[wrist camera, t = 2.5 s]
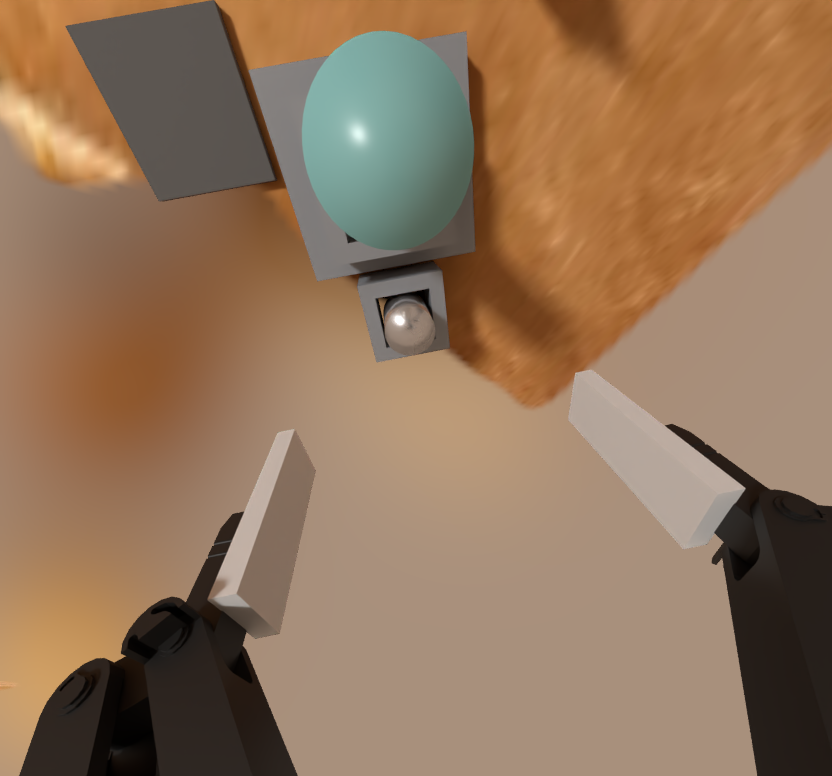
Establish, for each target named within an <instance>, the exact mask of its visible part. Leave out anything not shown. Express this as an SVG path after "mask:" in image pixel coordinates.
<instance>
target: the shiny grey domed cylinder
mask: <svg viewBox="0 0 832 776" xmlns="http://www.w3.org/2000/svg"><path fill="white" fill-rule="evenodd" d="M384 327H385V337H386V341H387V343H388V344H389V346H390V347H391V348H392V349H393V350H394V351H396V352H397V353H399V354H402V355H417V354H419V353H422V352H423V351H425V350H426V349H427V348H428V347H429V346H430V345H431V344H432V342H433V340H434V337H435V324H434V321H433V319H432V317H431V315H430V313H429V311H428V309H427V307H426V305H425V303H424V301H423V299H422V298H421V297H420V296H419V295H418V294H416V293H414V292H407V293H402V294H397V295H391V296H390V297H389V298H388V300H387V301H386V303H385V306H384Z"/></svg>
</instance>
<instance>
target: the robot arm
mask: <svg viewBox="0 0 832 776" xmlns="http://www.w3.org/2000/svg"><path fill="white" fill-rule="evenodd" d="M568 420H569V421H570V422H571V423H572V424H573V426H574V427H575V428H576V429H577V430H578V431H579V432H580V434H581V435H582V436H583V437H584V438H585V439H586V440H587V441H588V442H589V444H590V445H592V447H593V448H594V449H595V450H596V452H598V454H599V455H600V456H601V457H602V458H603V459H604V460H605V461H606V463H607V464H608V465H609V466H610V467H611V468H612V469H613V471H614V472H615V473H616V474H617V475H618V476H619V477H620V479H621V480H622V481H623V482H624V483H625V484H626V485H627V486H628V488H629V489H630V490H631V491H632V492H633V493H634V494H635V495H636V497H637V498H638V499H639V500H640V501H641V502H642V503H643V504H644V505H645V507H646V508H647V509H648V510H649V511H650V512H651V513H652V514H653V516H654V517H655V518H656V519H657V520H658V521H659V522H660V523H661V525H662V526H663V527H664V528H665V529H666V530H667V531H668V532H669V534H670V535H671V536H672V537H673V538H674V539H675V540H676V541H677V543H678V544H679V545H680V546H681V547H682V548H683V549H687V548H692V547H697V546H702V545H707V543H708V542H709V541H710V539H711V538H712V536H713V535H714V534H716V535H717V536H718V537H719V538H720V539H721V540H722V541H723V542H724V543H723V544H722V545H721V547H720V548H719V549H718V551H717V552H716V553H715V555H714V556H713V558H712V563H713V564H715V565H717V563H718V562H719V561H720V560H721V558H722V559H723V565H724V566H723V567H724V571H725V577H726V583H727V590H728V596H729V602H730V608H731V615H732V621H733V627H734V633H735V640H736V646H737V652H738V658H739V664H740V670H741V677H742V683H743V689H744V695H745V701H746V708H747V714H748V720H749V726H750V732H751V739H752V745H753V751H754V757H755V764H756V770H757V776H832V506H822V505H817V504H815V503H813V502H811V501H810V500H808V499H806V498H804V497H802V496H799V495H796V494H793V493H790V492H787V491H781V490H770V489H768V488H767V487H765V486H764V485H762V484H761V483H760V482H758V481H757V480H755V479H754V478H753V477H751V476H750V475H749V474H747V473H746V472H744V471H743V470H742V469H740V468H739V467H738V466H736V465H735V464H733V463H732V462H731V461H729V460H728V459H727V458H725V457H724V456H722V455H721V454H720V453H717V452H716V450H714V449H713V448H711V447H710V446H709V445H705V443H704V442H703V441H702V440H701V439H699V438H698V437H696V436H695V435H694V434H692V433H691V432H689V431H687V430H685V429H682V428H680V427H678V426H676V425H673V424H670V425H665V426H664V425H663V424H661V423H660V422H659V421H657V420H656V419H655V418H654V417H653V416H651V415H650V414H649V413H647V412H646V411H645V410H643V409H642V408H641V407H640V406H638V405H637V404H636V403H634V402H633V401H632V400H630V399H629V398H628V397H627V396H625V395H624V394H623V393H621V392H620V391H619V390H618V389H616V388H615V387H613V386H612V385H611V384H610V383H608V382H607V381H606V380H604V379H603V378H602V377H601V376H599V375H598V374H597V373H595V372H594V371H593V370H588V371H583V372H578V373H575V379H574V385H573V392H572V398H571V404H570V411H569V417H568ZM315 471H316V470H315V468H314V466H313V464H312V462H311V460H310V458H309V456H308V454H307V452H306V450H305V449H304V446H303V444H302V442H301V440H300V438H299V436H298V435H297V432H296V431H295V429H292V430H288V431H282V432H278V433H277V436H276V438H275V441H274V443H273V445H272V448H271V450H270V452H269V455H268V457H267V459H266V462H265V464H264V467H263V469H262V471H261V474H260V476H259V478H258V481H257V483H256V486H255V488H254V490H253V493H252V495H251V497H250V500H249V502H248V504H247V507H246V509H245V511H244V512H240V513H235V514H232V515H231V517H230V518H229V519H228V520H227V522H226V523H225V524H224V525H223V526H222V528H221V529H220V531H219V533H218V536H217V538H216V540H215V542H214V546H212V548H211V551H210V552H209V555H208V559H206V561H205V563H204V565H203V567H202V569H201V572H200V574H199V576H198V578H197V580H196V582H195V584H194V586H193V588H192V591H191V593H190V595H189V597H188V599H187V601H186V602H184V601H183V600H182V599H180V598H177V597H169V598H166V599H163V600H161V601H159V602H157V603H156V604H154V605H152V606H151V607H149V608H148V609H147V610H146V611H145V612H144V613H143V614H142V615H141V616H140V617H139V618H138V619H137V620H136V621H135V623H134V624H133V625H132V627H131V628H130V629H129V631H128V633H127V635H126V637H125V639H124V641H123V643H122V650H121V654H123V655H125V656H126V657H124V658H122V659H120V660H118V661H117V662H115V663H114V662H112V661H110V660H107V659H105V658H97V659H94V660H92V661H90V662H87V663H85V664H84V665H82V666H81V667H80V668H78V669H77V670H75V671H74V672H73V673H71V674H70V675H69V676H68V677H67V678H66V679H65V680H64V681H63V682H62V684H61V685H59V686H58V688H57V689H56V690H55V692H54V693H53V694H52V696H51V697H50V698H49V700H48V701H47V703H46V705H45V707H44V709H43V711H42V713H41V715H40V717H39V721H38V723H37V726H36V729H35V732H34V735H33V738H32V740H31V743H30V746H29V749H28V752H27V755H26V758H25V761H24V764H23V767H22V770H21V772H20V775H19V776H297V773H296V770H295V768H294V766H293V763H292V761H291V758H290V756H289V753H288V751H287V749H286V746H285V744H284V741H283V739H282V736H281V734H280V731H279V729H278V726H277V724H276V722H275V719H274V717H273V714H272V712H271V709H270V707H269V705H268V702H267V699H266V697H265V695H264V692H263V690H262V687H261V685H260V683H259V680H258V677H257V675H256V673H255V670H254V668H253V665H252V663H251V660H250V658H249V656H248V653H247V651H246V649H245V648H244V647H243V646H242V645H243V642H244V638H245V635H246V632H247V633H249V634H250V635H251V636H252V637H254V638H255V639H257V638H262V637H266V636H271V635H276V634H279V633H280V629H281V625H282V620H283V616H284V611H285V607H286V602H287V598H288V593H289V589H290V584H291V579H292V575H293V571H294V566H295V561H296V557H297V553H298V548H299V544H300V539H301V534H302V530H303V525H304V521H305V517H306V512H307V508H308V503H309V499H310V494H311V489H312V485H313V480H314V476H315Z"/></svg>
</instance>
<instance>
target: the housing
mask: <svg viewBox="0 0 832 776" xmlns="http://www.w3.org/2000/svg"><path fill="white" fill-rule="evenodd" d="M418 41H420V42H422V43H423V44H425V45H426V46H427V47H429V48H430V49H431V50H433V51H434V52H435V53H436V54H437V55H438V56H439V57H440V58H441V59H442V60H443V61H444V62H445V64H446V65H447V66H448V68H449V69H450V70H451V72H452V73H453V75H454V76H455V78H456V80H457V82H458V83H459V85H460V87H461V89H462V92H463V94H464V96H465V99H466V102H467V105H468V108H469V83H468V59H467V34H466V32H460V33H455V34H449V35H444V36H438V37H432V38H427V39H421V40H418ZM328 57H329V56H325V57H320V58H314V59H308V60H303V61H297V62H292V63H286V64H280V65H275V66H269V67H263V68H258V69H252V70H249V73H250V76H251V79H252V82H253V85H254V89H255V92H256V95H257V98H258V101H259V104H260V107H261V110H262V113H263V116H264V119H265V122H266V125H267V128H268V131H269V134H270V138H271V141H272V144H273V147H274V150H275V153H276V156H277V159H278V162H279V165H280V168H281V171H282V174H283V177H284V180H285V184H286V187H287V190H288V193H289V196H290V199H291V202H292V205H293V208H294V211H295V214H296V217H297V220H298V223H299V226H300V229H301V233H302V236H303V239H304V242H305V245H306V248H307V251H308V254H309V257H310V260H311V263H312V266H313V269H314V272H315V275H316V278H317V281H322V280H327V279H332V278H338V277H343V276H348V275H354V274H359V273H364V272H370V271H375V270H380V269H386V268H391V267H396V266H401V265H407V264H412V263H417V262H423V261H428V260H433V259H439V258H444V257H449V256H455V255H460V254H465V253H470V252H475V230H474V206H473V181H472V174H471V178H470V183H469V186H468V189H467V192H466V195H465V197H464V199H463V201H462V203H461V206H460V207H459V209H458V211H457V212H456V214H455V216H454V217H453V218H452V219H451V221H450V222H449V223H448V225H447V226H446V227H445V228H444V229H443V230H442V231H441V232H439V233H438V234H437V235H436V236H434V237H433V238H432V239H430V240H428V241H427V242H425V243H423V244H420V245H418V246H416V247H412V248H409V249H404V250H383V249H377V248H374V247H371V246H368V245H365V244H363V243H361V242H359V241H357V240H356V239H354V238H352V237H351V236H349V235H348V234H347V233H346V232H344V231H343V230H342V229H341V228H340V227H339V226H338V225H337V224H336V223H335V222H334V221H333V220H332V219H331V218H330V216H329V215H328V214H327V212H326V211H325V210H324V208H323V207H322V205H321V203H320V202H319V200H318V198H317V196H316V194H315V192H314V190H313V188H312V185H311V182H310V179H309V176H308V174H307V170H306V165H305V161H304V155H303V147H302V122H303V113H304V108H305V103H306V99H307V96H308V93H309V90H310V87H311V84H312V82H313V80H314V78H315V76H316V74H317V72H318V71H319V69H320V68H321V66H322V65H323V63H324V62H325V60H326V59H327V58H328ZM469 112H470V108H469ZM357 288H358V292H359V296H360V299H361V303H362V307H363V311H364V315H365V319H366V323H367V327H368V331H369V335H370V338H371V342H372V346H373V350H374V354H375V357H376V362H380V361H386V360H391V359H397V358H402V357H407V356H412V355H402V354H399V353H397V352H396V351H394V350H393V349H392V348H391V347H390V346H389V344H388V343H387V341H386V337H385V327H384V323H383V318H382V314H381V309H380V305H379V300H378V298H381V297H386V296H391V295H397V294H402V293H407V292H412V291H418V290H423V289H424V293H425V300H426V307H427V309H428V311H429V313H430V315H431V317H432V319H433V321H434V324H435V337H434V340H433V342H432V344H431V345H430V346H429V347H428V348H427V349H426V350H425V351H423V352H422V353H419V354H423V353H427V352H433V351H438V350H443V349H449V348H450V344H449V334H448V324H447V314H446V304H445V294H444V284H443V274H442V270H441V269H440V268H439V267H438V266H437V265H436V264H435V263H434V262H433V261H431V262H426V263H421V264H415V265H410V266H405V267H399V268H394V269H389V270H383V271H378V272H373V273H368V274H362V275H360V276H359V280H358V285H357Z"/></svg>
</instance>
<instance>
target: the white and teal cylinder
mask: <svg viewBox="0 0 832 776" xmlns="http://www.w3.org/2000/svg"><path fill="white" fill-rule="evenodd" d="M302 147H303V155H304V161H305V165H306V170H307V174H308V176H309V179H310V182H311V185H312V188H313V190H314V192H315V194H316V196H317V198H318V200H319V202H320V203H321V205H322V207H323V208H324V210H325V211H326V212H327V214H328V215H329V216H330V218H331V219H332V220H333V221H334V222H335V223H336V224H337V225H338V226H339V227H340V228H341V229H342V230H343V231H344V232H346V233H347V234H348V235H349V236H351V237H352V238H354V239H356V240H357V241H359V242H361V243H363V244H365V245H368V246H371V247H374V248H377V249H383V250H404V249H409V248H412V247H416V246H418V245H420V244H423V243H425V242H427V241H428V240H430V239H432V238H433V237H434V236H436V235H437V234H438V233H439V232H441V231H442V230H443V229H444V228H445V227H446V226H447V225H448V223H449V222H450V221H451V219H452V218H453V217H454V216H455V214H456V212H457V211H458V209H459V207H460V206H461V203H462V201H463V199H464V197H465V195H466V192H467V189H468V186H469V183H470V178H471V174H472V169H473V160H474V135H473V126H472V121H471V115H470V112H469V108H468V105H467V102H466V99H465V96H464V94H463V92H462V89H461V87H460V85H459V83H458V82H457V80H456V78H455V76H454V75H453V73H452V72H451V70H450V69H449V68H448V66H447V65H446V64H445V62H444V61H443V60H442V59H441V58H440V57H439V56H438V55H437V54H436V53H435V52H434V51H433V50H431V49H430V48H429V47H427V46H426V45H425V44H423V43H422V42H420V41H418V40H416V39H414V38H412V37H410V36H407V35H404V34H401V33H398V32H390V31H376V32H369V33H365V34H362V35H358V36H356V37H354V38H352V39H350V40H348V41H346V42H345V43H344V44H342V45H341V46H340V47H338V48H337V49H336V50H335V51H334V52H333V53H332V54H331V55H330V56H329V57H328V58H327V59H326V60H325V62H324V63H323V65H322V66H321V68H320V69H319V71H318V72H317V74H316V76H315V78H314V80H313V82H312V84H311V87H310V90H309V93H308V96H307V99H306V103H305V108H304V113H303V122H302Z"/></svg>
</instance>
